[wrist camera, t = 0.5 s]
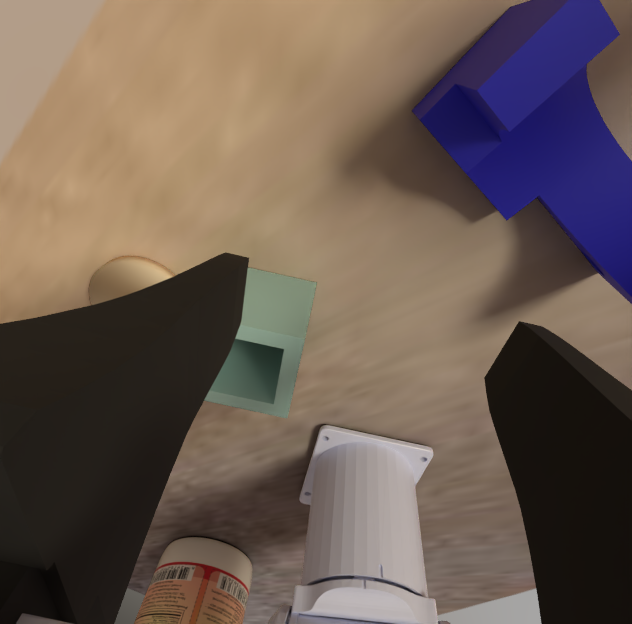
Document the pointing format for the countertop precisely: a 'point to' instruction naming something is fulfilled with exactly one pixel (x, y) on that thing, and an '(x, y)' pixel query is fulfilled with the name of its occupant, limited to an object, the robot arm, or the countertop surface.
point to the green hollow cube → (266, 345)
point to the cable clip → (541, 127)
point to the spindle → (125, 277)
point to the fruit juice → (198, 584)
